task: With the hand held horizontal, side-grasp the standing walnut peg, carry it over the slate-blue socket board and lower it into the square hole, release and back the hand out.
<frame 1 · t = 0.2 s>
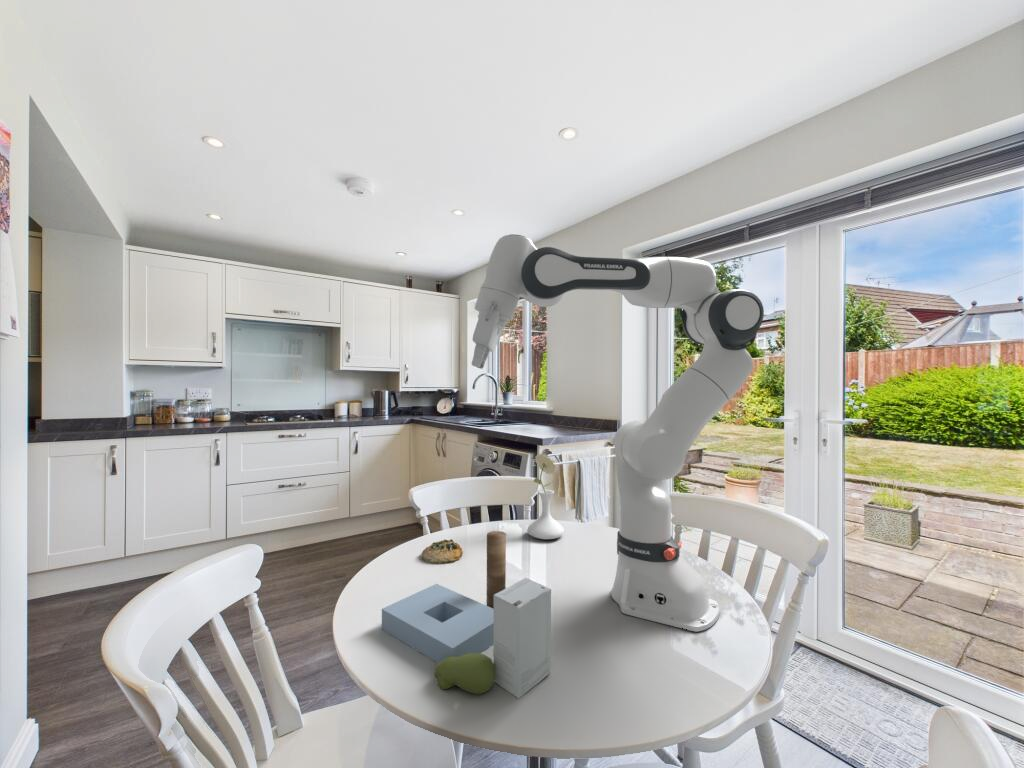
hand: (477, 367, 101), 51 cm above the table, tool tilted 15°, fingers open, 8 cm apart
flower in vase: (544, 535, 142), on the table
skincare box: (522, 680, 75), on the table
bread roll: (442, 557, 125), on the table
socket board: (443, 632, 89), on the table
peg: (495, 609, 97), on the table
pear: (464, 687, 74), on the table
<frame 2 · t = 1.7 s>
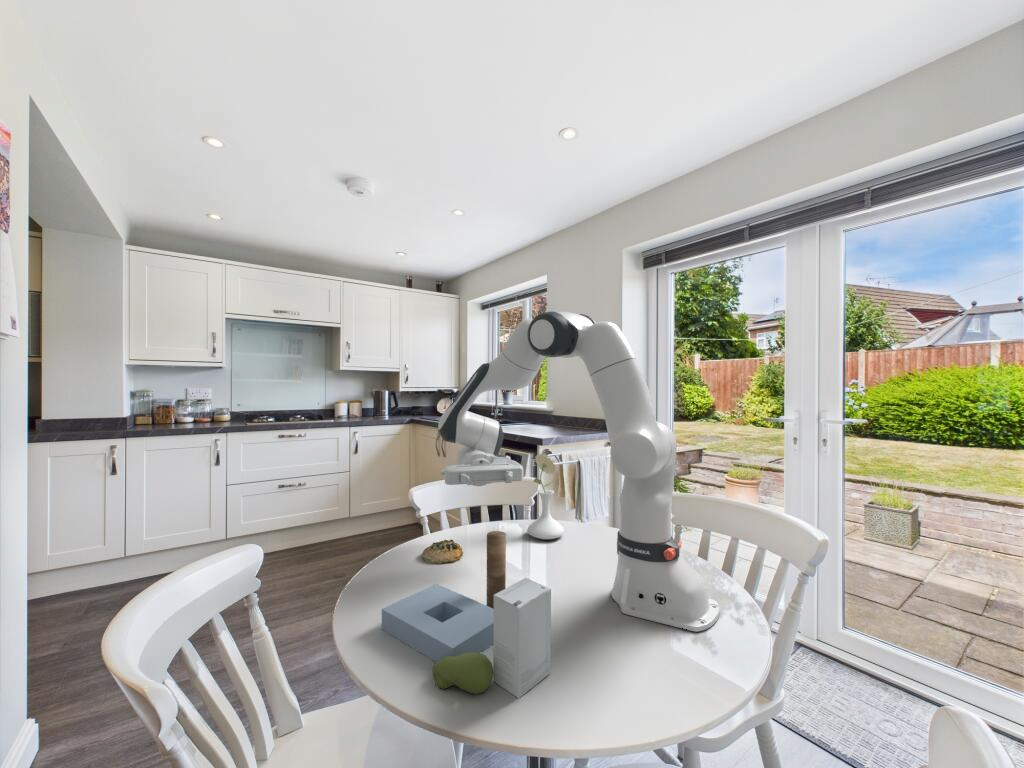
hand: (490, 480, 111), 24 cm above the table, tool horizontal, fingers open, 8 cm apart
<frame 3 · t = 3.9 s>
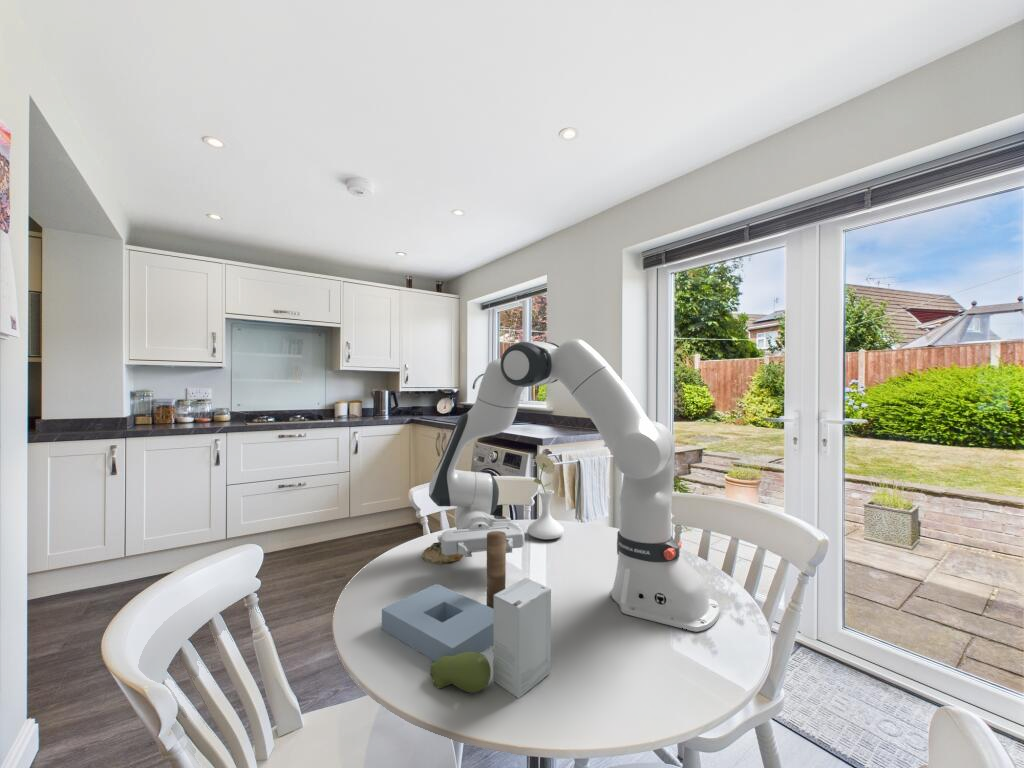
hand: (489, 551, 104), 9 cm above the table, tool horizontal, fingers open, 8 cm apart
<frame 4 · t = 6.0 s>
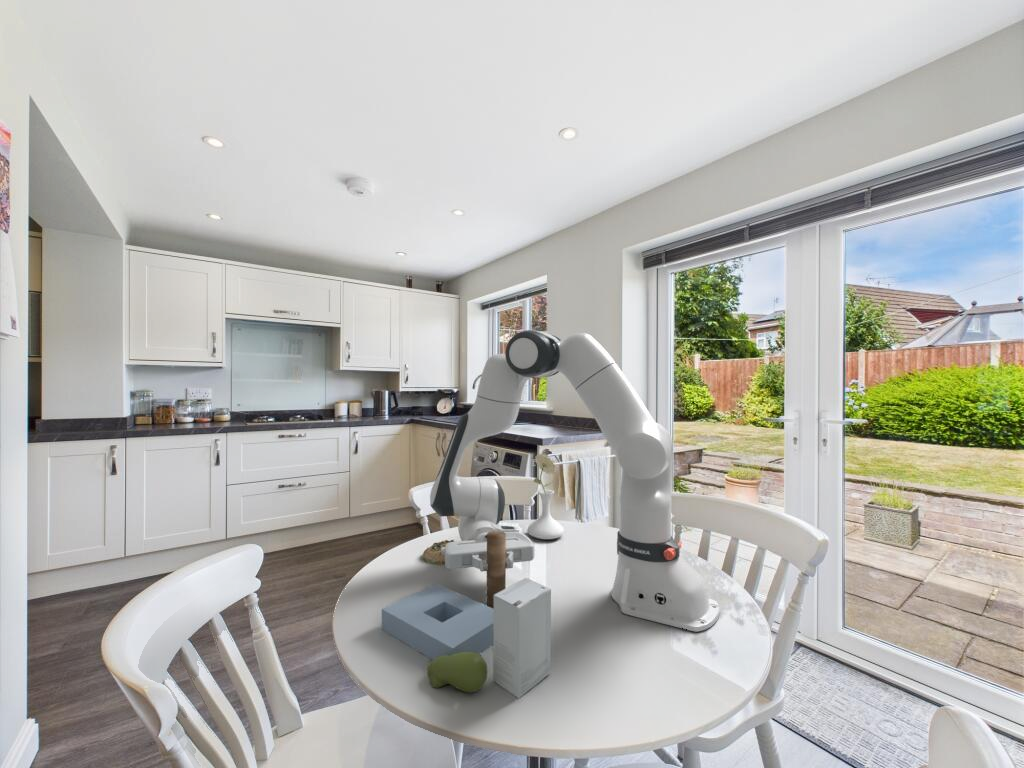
hand: (497, 566, 96), 10 cm above the table, tool horizontal, fingers closed on peg, 4 cm apart
peg: (495, 609, 97), on the table, touching gripper
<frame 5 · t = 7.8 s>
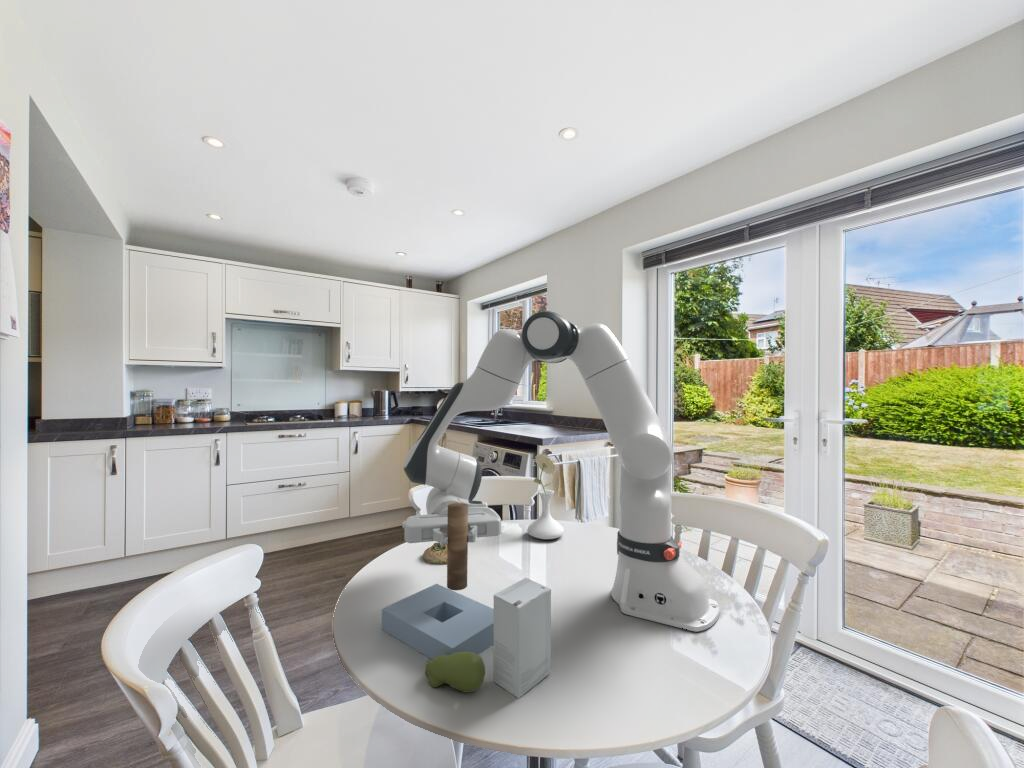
hand: (458, 539, 90), 17 cm above the table, tool horizontal, fingers closed on peg, 4 cm apart
peg: (457, 585, 91), point 8 cm above the table, touching gripper
when the fingers open (11 cm above the table, at t = 9.8 s): peg drops 1 cm, resting in socket board.
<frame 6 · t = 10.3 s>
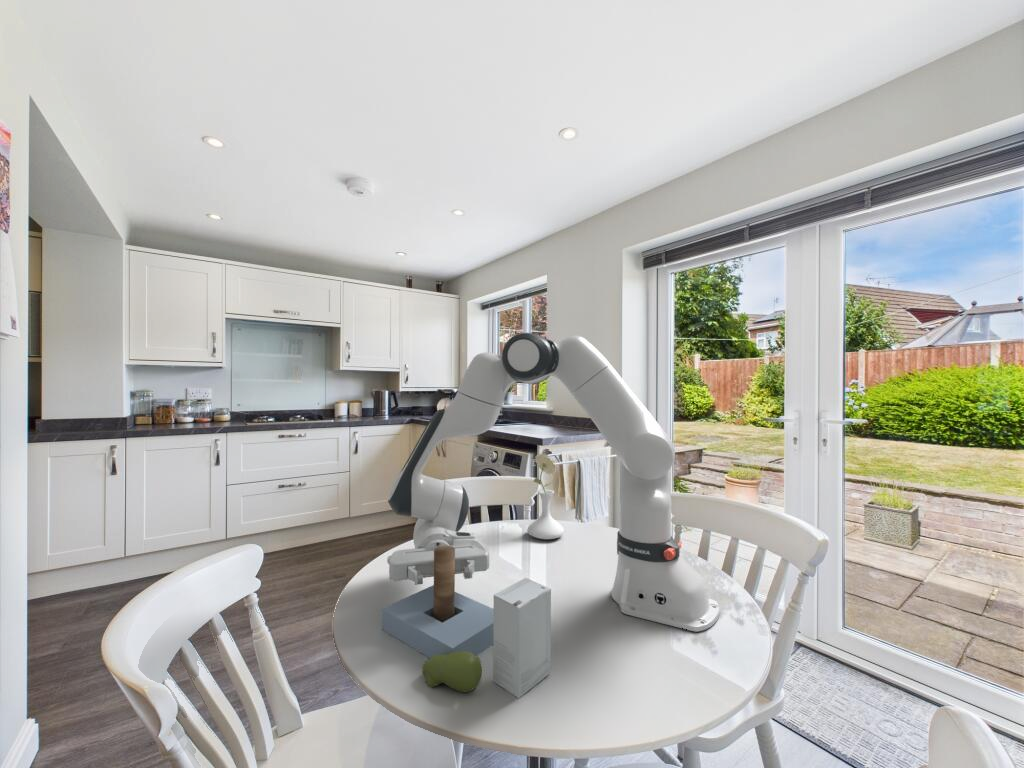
hand: (444, 577, 87), 11 cm above the table, tool horizontal, fingers open, 8 cm apart
peg: (443, 632, 89), resting in socket board
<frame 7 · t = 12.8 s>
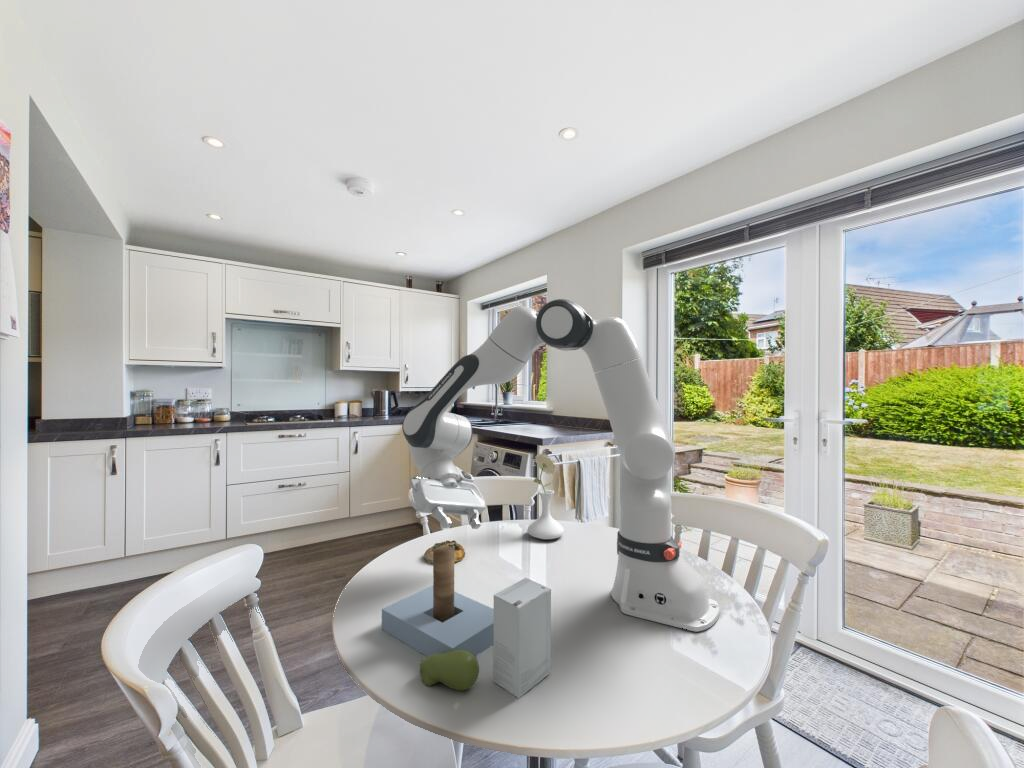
hand: (462, 526, 105), 15 cm above the table, tool tilted 50°, fingers open, 8 cm apart
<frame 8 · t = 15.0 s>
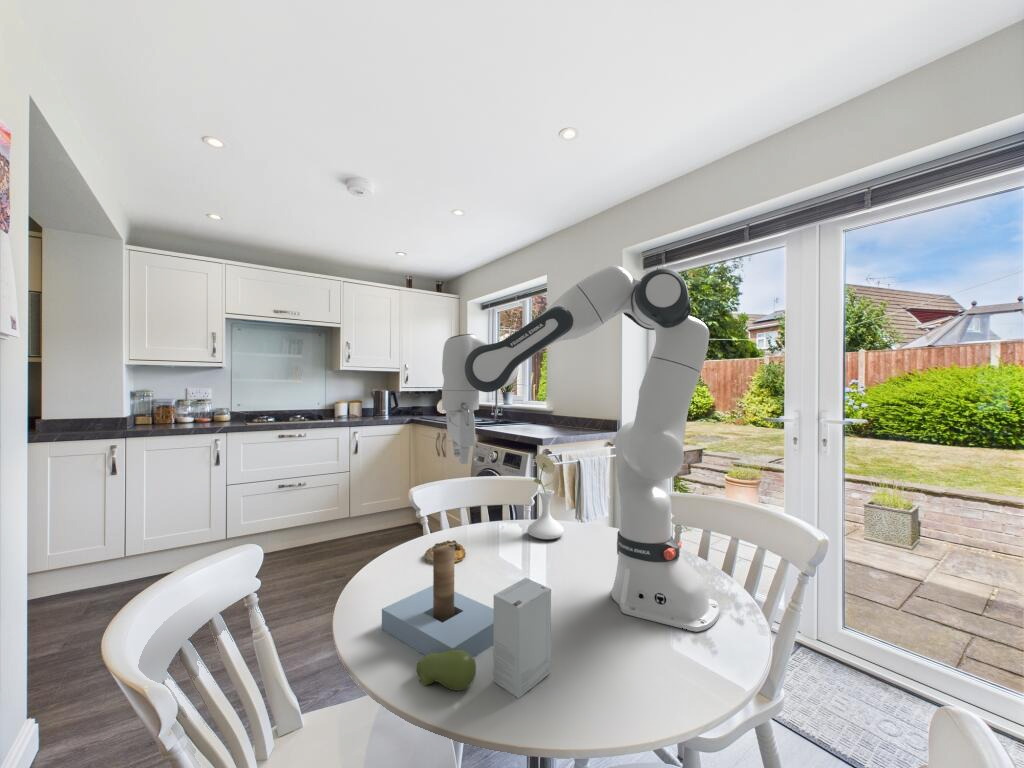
hand: (460, 459, 111), 29 cm above the table, tool pointing down, fingers open, 8 cm apart
at the end: peg 0.1 cm off-centre on the socket board, point 0.0 cm above the socket board's base; peg tilted 0°; the gripper is holding nothing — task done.
